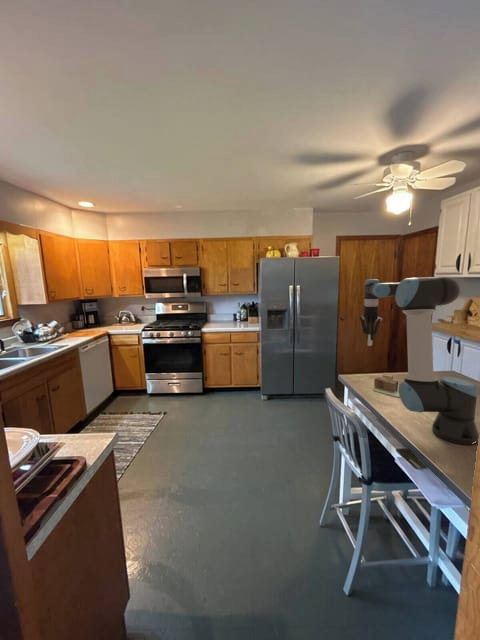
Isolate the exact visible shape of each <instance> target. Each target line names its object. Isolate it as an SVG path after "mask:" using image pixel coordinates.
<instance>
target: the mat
mask: <svg viewBox="0 0 480 640" xmlns="http://www.w3.org/2000/svg"><path fill="white" fill-rule="evenodd" d="M398 388H399V386H398ZM372 391H373V392H376V393H380V394H384V395H388V396H390V397H393V398H397V399H400V396H399V390H397V391H395V392H391V391H388V390H384V389H380V388H377V387H374V388H373V389H372Z"/></svg>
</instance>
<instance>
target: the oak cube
mask: <svg viewBox="0 0 480 640" xmlns="http://www.w3.org/2000/svg"><path fill="white" fill-rule="evenodd" d="M382 378H386V379H390V380H394V374H393V373H387V372H384V373H383V374H382Z"/></svg>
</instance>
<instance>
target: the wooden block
mask: <svg viewBox="0 0 480 640" xmlns="http://www.w3.org/2000/svg"><path fill="white" fill-rule="evenodd" d="M373 383H374V384H373V385H374V386H373V387H374V388H380V389H384V390H388V391H391V392H395V391H397V390H398V387H399V381H398V380H394V379H393V380H390V379H386V378H383V376H382V377H381V376H377V377H375V378H374V382H373Z"/></svg>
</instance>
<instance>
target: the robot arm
mask: <svg viewBox="0 0 480 640" xmlns="http://www.w3.org/2000/svg"><path fill="white" fill-rule="evenodd" d="M363 287H364V302H363V303H364V304H363V305H364V307H363V315H362V316H360V317H359V320H360V322H361V328H362V332H363V334H365V335H366V338H365V339H366V340H367V346H368V347H371V346H373V341H374V339H375V335H377V334H378V333H379V330H380V326H381V322H382V321H383V318H382V317H380V316H379V298H387V297H388V298H391V297H395V300H394V301H395V302H396V306H398V307H400V308H401V311H402V313H403V314H404V315H405V316H406V338H407V339H406V340H407V341H406V343H407V345H406V347H407V371H408V373H407V374H406V375H404V377H403V379H404V381H402V382H400V383H398V387H399V388H398V390H399V396H400V397H399V399H400V401H401V403H402V404H403V406H404V408H406V409H407V411H410V412H413V413H414V412H416V413H437V415H436V416H435V418H434V421H433V422H432V426H431V428H432V429H431V431H432V433H433V434H434V435H435V436H437V437H438V438H440V439H441V440H444V441H446V442H449V443H452V444H456V445H462V446H472V445H471V444H472V443H473V442H475V441H476V443H477V444H478V443H479V442H478V439H480V434H479V431H478V428H477V425H476V421H475V418H476V406H477V398H478V388H477V386H476V385H475V384H474V383H471V382H470V381H468V380H464V379H461V378H458V377H452V376H442V377H441V378H440V379H439V378H438V377H437V376H436V375H434V354H433V353H434V351H433V325H432V323H433V322H432V315H433V313H435V311H437V310H436V307H438V306H439V307H441V306H446V305H447V306H448V305H449V304H451V303H453V302H454V301H456V300H457V299H458V298H459V296H460V294H461V286H460V284H459V283H458V282H457V281H456V280H455V279H453V278H451V277H447V276H434V277H433V276H428V277H423V276H422V277H421V276H419V277H417V276H416V277H409V278H408V277H407V278H403V280H401V281H400V282H380V280H379V279H373V278H372V279H366V280H365V281H364V285H363ZM439 380H440V381H439Z"/></svg>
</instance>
